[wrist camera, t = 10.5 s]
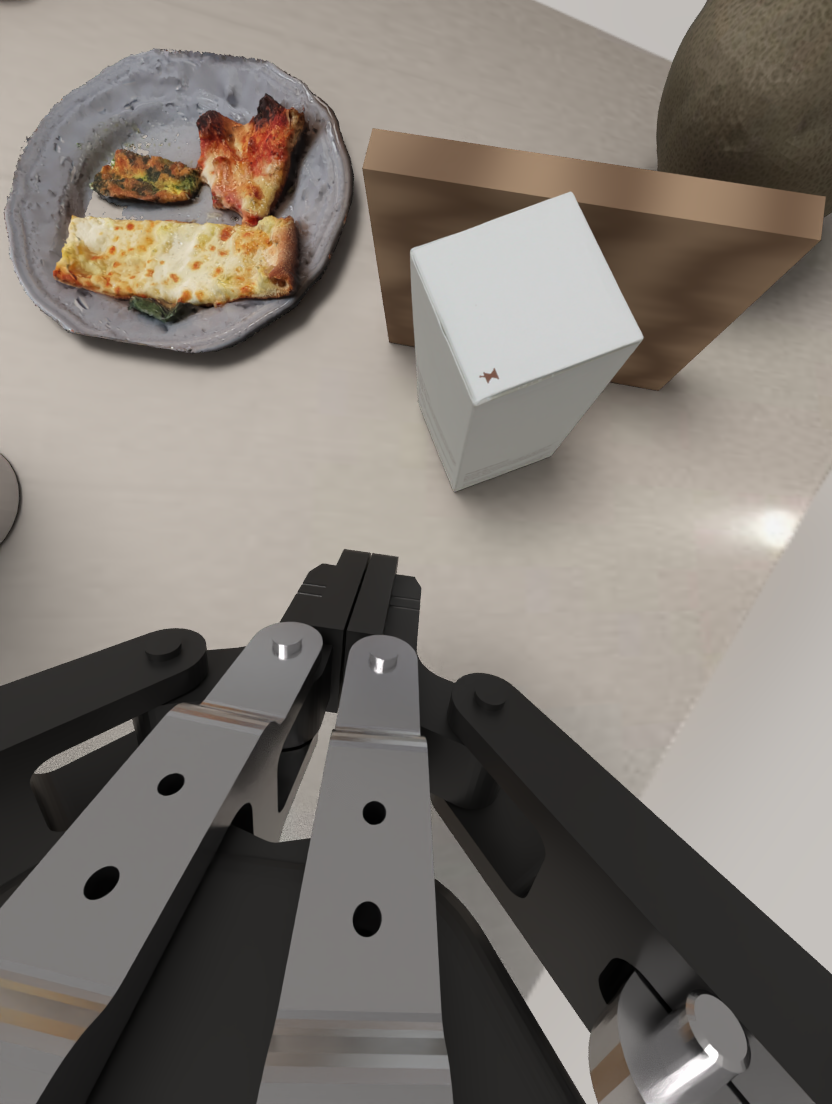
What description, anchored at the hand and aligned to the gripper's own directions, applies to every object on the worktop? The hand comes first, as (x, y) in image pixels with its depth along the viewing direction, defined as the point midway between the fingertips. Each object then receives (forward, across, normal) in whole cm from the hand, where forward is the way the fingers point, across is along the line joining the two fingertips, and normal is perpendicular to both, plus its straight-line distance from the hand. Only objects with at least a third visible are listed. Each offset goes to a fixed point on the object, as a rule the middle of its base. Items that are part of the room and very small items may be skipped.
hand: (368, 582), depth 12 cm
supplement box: (+20, -5, -2) cm, 21 cm away
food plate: (+29, +19, -12) cm, 37 cm away
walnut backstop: (+23, -7, -7) cm, 25 cm away
